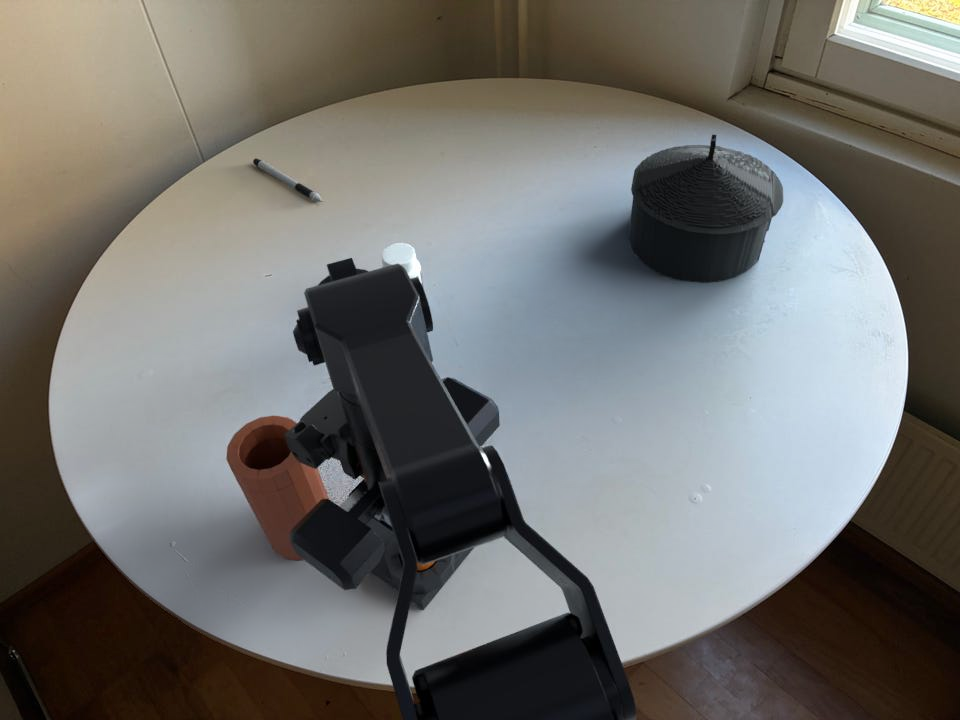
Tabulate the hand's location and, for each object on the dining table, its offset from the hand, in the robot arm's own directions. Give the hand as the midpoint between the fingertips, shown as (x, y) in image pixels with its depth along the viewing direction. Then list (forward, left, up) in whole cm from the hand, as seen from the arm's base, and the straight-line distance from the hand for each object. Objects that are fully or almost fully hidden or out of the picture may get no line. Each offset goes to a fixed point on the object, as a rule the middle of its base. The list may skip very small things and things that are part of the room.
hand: (413, 528), depth 66 cm
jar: (-3, +13, -8) cm, 15 cm away
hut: (+58, +1, -8) cm, 58 cm away
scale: (+4, +3, -8) cm, 9 cm away
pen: (+37, +57, -8) cm, 68 cm away
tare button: (0, 0, -5) cm, 5 cm away
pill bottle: (+27, +25, -8) cm, 37 cm away
